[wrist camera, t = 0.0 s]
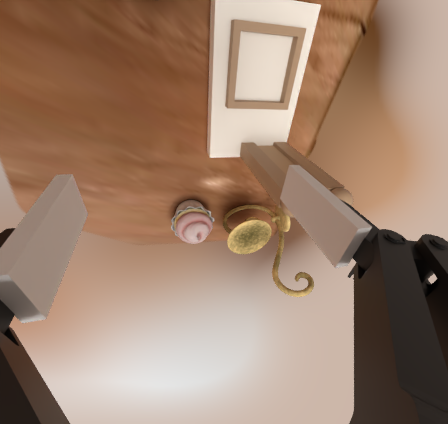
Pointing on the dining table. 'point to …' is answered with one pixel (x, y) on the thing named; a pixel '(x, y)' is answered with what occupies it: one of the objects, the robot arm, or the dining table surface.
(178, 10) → the dining table surface
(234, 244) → the wall sconce
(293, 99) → the peg insertion fixture
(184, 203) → the cupcake
